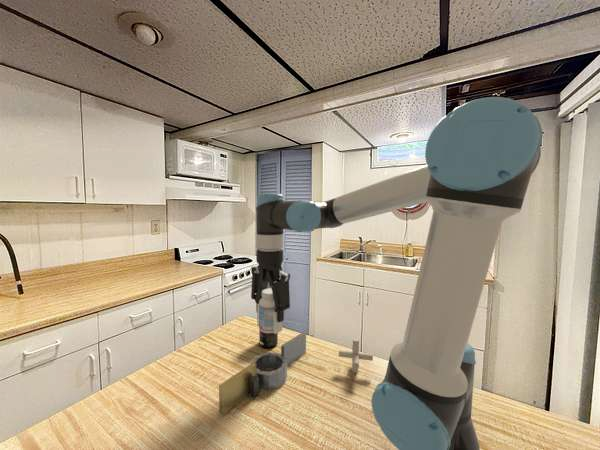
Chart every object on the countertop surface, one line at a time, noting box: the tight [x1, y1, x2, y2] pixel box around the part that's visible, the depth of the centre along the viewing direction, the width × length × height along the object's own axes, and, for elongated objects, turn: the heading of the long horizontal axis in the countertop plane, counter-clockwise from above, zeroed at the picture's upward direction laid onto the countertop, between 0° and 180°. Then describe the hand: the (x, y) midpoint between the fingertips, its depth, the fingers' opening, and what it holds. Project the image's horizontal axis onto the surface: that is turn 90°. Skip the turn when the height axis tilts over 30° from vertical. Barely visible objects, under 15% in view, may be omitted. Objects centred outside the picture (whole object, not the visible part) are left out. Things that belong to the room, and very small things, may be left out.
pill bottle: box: [258, 287, 276, 333], centre depth 71 cm, size 6×6×11 cm
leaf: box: [218, 363, 256, 416], centre depth 64 cm, size 1×11×7 cm, turn 143°
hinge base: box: [249, 331, 307, 400], centre depth 76 cm, size 10×25×7 cm, turn 140°
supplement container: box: [258, 329, 279, 350], centre depth 90 cm, size 7×7×10 cm
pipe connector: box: [338, 337, 374, 374], centre depth 76 cm, size 10×10×10 cm
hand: (269, 327), depth 72 cm, fingers closed on pill bottle, 6 cm apart
